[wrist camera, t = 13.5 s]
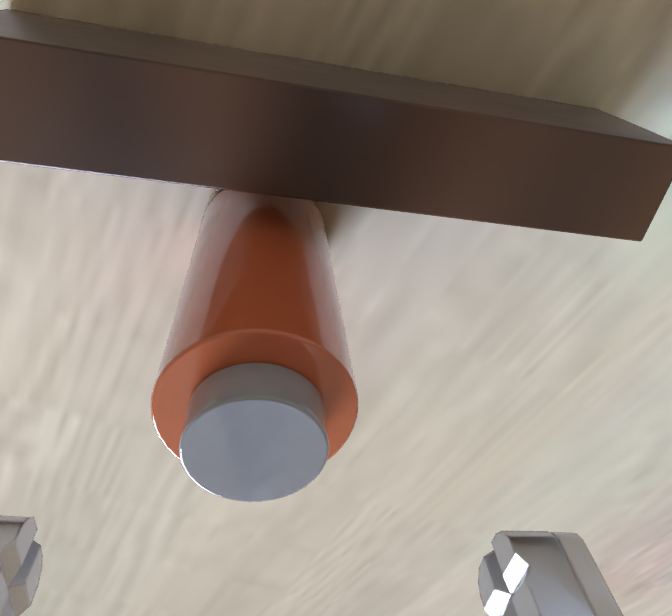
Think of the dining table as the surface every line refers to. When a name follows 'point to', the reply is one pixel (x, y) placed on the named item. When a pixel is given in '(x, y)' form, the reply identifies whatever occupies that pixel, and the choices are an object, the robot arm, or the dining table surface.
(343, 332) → the capped bottle
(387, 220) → the dining table surface
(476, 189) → the wall
